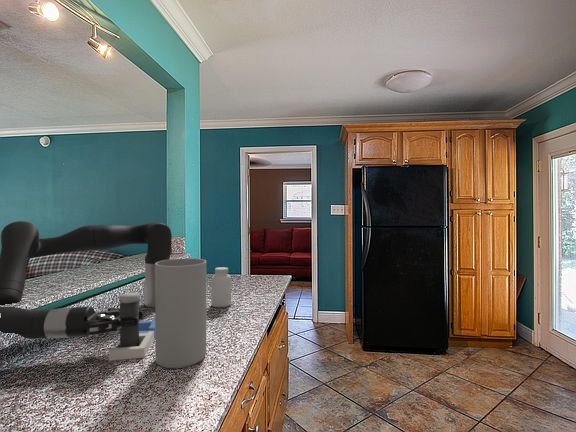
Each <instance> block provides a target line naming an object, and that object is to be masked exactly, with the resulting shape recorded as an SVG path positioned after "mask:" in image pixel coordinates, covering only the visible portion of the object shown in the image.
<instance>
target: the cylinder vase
mask: <svg viewBox="0 0 576 432" xmlns="http://www.w3.org/2000/svg"><path fill="white" fill-rule="evenodd" d="M154 309H155V310H154V312H155V316H154V317H155V319H154V320H155V338H154V339H155V341H154V342H155V345H154V346H155V348H154V349H155V351H154V352H155V353H154V354H155V362H156V364H157V365H158V366H160V367H163V368H166V369H183V368H188V367H191V366H193V365H196V364H199V362H201V361H203V359H204V358H205V357H206V355H207V260H206V259H202V258H190V257H189V258H188V257H187V258H172V259H171V258H170V260H163V261H159V262H156V263H155V307H154Z"/></svg>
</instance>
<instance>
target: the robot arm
mask: <svg viewBox="0 0 576 432" xmlns="http://www.w3.org/2000/svg"><path fill="white" fill-rule="evenodd" d="M172 235H173V234H172V230H171V228H170V227H169V225H167V224H165V223H163V222H149V223H144V224H135V225H120V224H119V225H118V224H92V225H91V224H89V225H84V226H81V227H78V228H76V229H74V230H71V231H68V232H66V233H64V234H62V235H59V236H53V237H46V238H44V237H43V238H40V233H39V230H38V227H37V225H35V224H33V223H31V222H30V221H26V220H25V221H24V220H20V221H19V220H18V221H13V222H10V223H8V224H7V225H5V226H4V227H3V229H2V231H1V233H0V245H1V246H0V247H1V248H0V305H5V304H12V303H17V302H20V301H21V302H22V298H23V296H24V295H23V294H24V290H25V284H26V278H27V277H26V276H27V265H28V259H29V260H30V259H34V258H41V257H47V256H53V255H59V254H68V253H77V252H93V251H104V250H109V249H110V250H111V249H115V248H120V247H122V246H123V247H124V246H128V245H138V244H139V245H140V244H141V245H142V244H143V245H147V250H146V252H147V253H146V255H145V256H144V281H143V304H144V305H145V307H147V308H155V263H156V262H159V261H163V260H170V259H171V258H170V257H171V255H172V244H173V243H172V240H173V239H172V238H173V236H172ZM0 313H1V318H0V331H1V332H3V333H15V334H18V335H19V336H20V337H22V338H24V339H27V340H28V339H29V340H32V339H33V340H34V339H35V340H36V339H38V340H39V339H65V338H66V339H67V338H79V337H81V338H83V337H89V336H92V335H98V334H103V333H112V332H116V331H118V329H119V330H120V328H122V327H128V326H137V325H138V317H127V318H120V307H119V308H118V307H115V308H114V307H109V308H107V310H101V311H100V312H96V311H95V308H94V307H92V306H75V307H73V306H72V307H60V308H54V309H41V310H40V309H39V310H37V309H36V310H33V309H29V308H28V309H27V308H22V307H21V308H15V307H0ZM143 318H144V311H143V310H139V320H142V319H143ZM18 335H17V336H18Z"/></svg>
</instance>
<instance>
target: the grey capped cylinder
mask: <svg viewBox="0 0 576 432" xmlns="http://www.w3.org/2000/svg"><path fill="white" fill-rule="evenodd" d="M140 299H141V297H140V292H126V293H121V294H120V295H119V296H118V302H119V308H120V318H127V317H138V325H137V326H128V327H122V328H120V329H119V348H122V347H135V346H140V345H139V321H140V319H139V311H140Z"/></svg>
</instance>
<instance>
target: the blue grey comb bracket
mask: <svg viewBox="0 0 576 432" xmlns="http://www.w3.org/2000/svg"><path fill="white" fill-rule="evenodd" d="M154 339H155V319H152V320H144V321H143V320H141V321H140V320H139V346H135V347H122V348H120V347H113V348H110V349H109V351H108V352H109V354H108V356H109V357H108V358H109V359H108V360H109V361H110V362H111V361H121V360H131V359H132V360H134V359H144V358H145V357H146V355H147V353H148V351H149V349H150V347H151V345H152V344H153V342H154Z"/></svg>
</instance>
